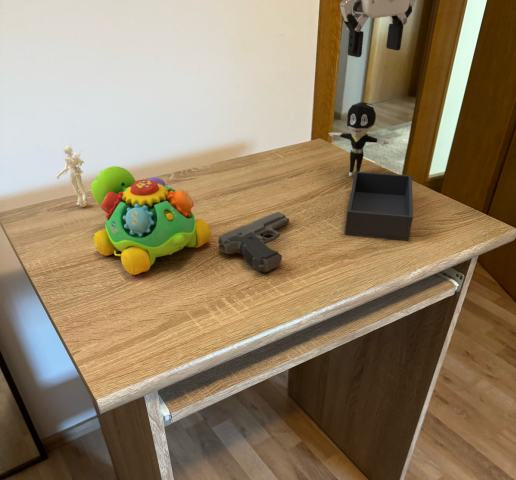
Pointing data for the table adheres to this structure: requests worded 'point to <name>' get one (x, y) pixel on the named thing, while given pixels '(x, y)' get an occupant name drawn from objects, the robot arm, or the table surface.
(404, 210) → the dark grey open box
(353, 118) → the toy
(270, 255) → the handgun
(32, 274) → the table surface
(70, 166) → the figurine
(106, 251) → the turtle toy
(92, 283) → the table surface
